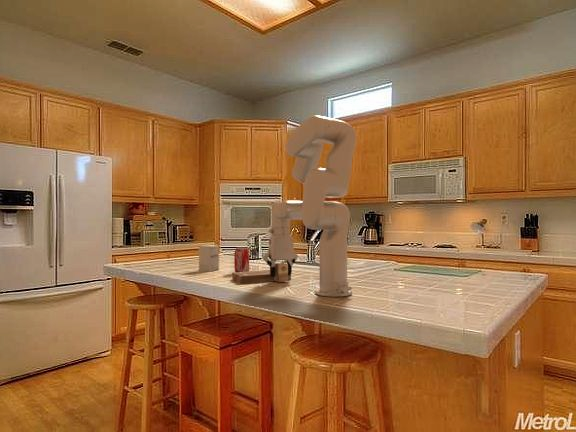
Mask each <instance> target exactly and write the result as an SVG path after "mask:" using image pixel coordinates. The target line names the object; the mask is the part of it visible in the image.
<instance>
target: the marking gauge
mask: <svg viewBox="0 0 576 432" xmlns="http://www.w3.org/2000/svg"><path fill="white" fill-rule="evenodd" d="M274 267H275V277H274V280H275V281H274V282H278V283H281V282H283V283H284V282H288V281H289V280H288V264H287V262H286V263H285V262H275V265H274Z"/></svg>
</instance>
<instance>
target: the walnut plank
mask: <svg viewBox="0 0 576 432" xmlns="http://www.w3.org/2000/svg"><path fill="white" fill-rule="evenodd" d="M231 274H232V281H233V282H234V281H235V282H237V283H238V284H241V285H242V284H243V285H245V284H256V283H269V282H276V281H275V280H274V277H272V276H271V275H270V269H266V270H252V271H250V270H249V271H248V272H235V271H234V272H232V273H231ZM291 280H292V275H291V276H289V275H288V281H291Z"/></svg>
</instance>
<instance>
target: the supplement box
mask: <svg viewBox="0 0 576 432" xmlns="http://www.w3.org/2000/svg"><path fill="white" fill-rule="evenodd" d="M219 251H220V246H219V245H216V244H215V245H210V244H209V245H208V244H207V245H199V246H198V271H199V272H207V273H209V272H210V273H211V272H214V271H219V268H220V267H219V265H220V264H219V263H220V257H219V256H220V255H219V254H220V252H219Z"/></svg>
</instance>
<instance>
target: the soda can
mask: <svg viewBox="0 0 576 432" xmlns="http://www.w3.org/2000/svg"><path fill="white" fill-rule="evenodd" d="M233 255H234V257H233V258H234V260H233V262H234V263H233V264H234V265H233V266H234V269H233V270H234V272H248V271H250V250H249V248H248V247H236V248H235V250H234V254H233Z"/></svg>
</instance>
